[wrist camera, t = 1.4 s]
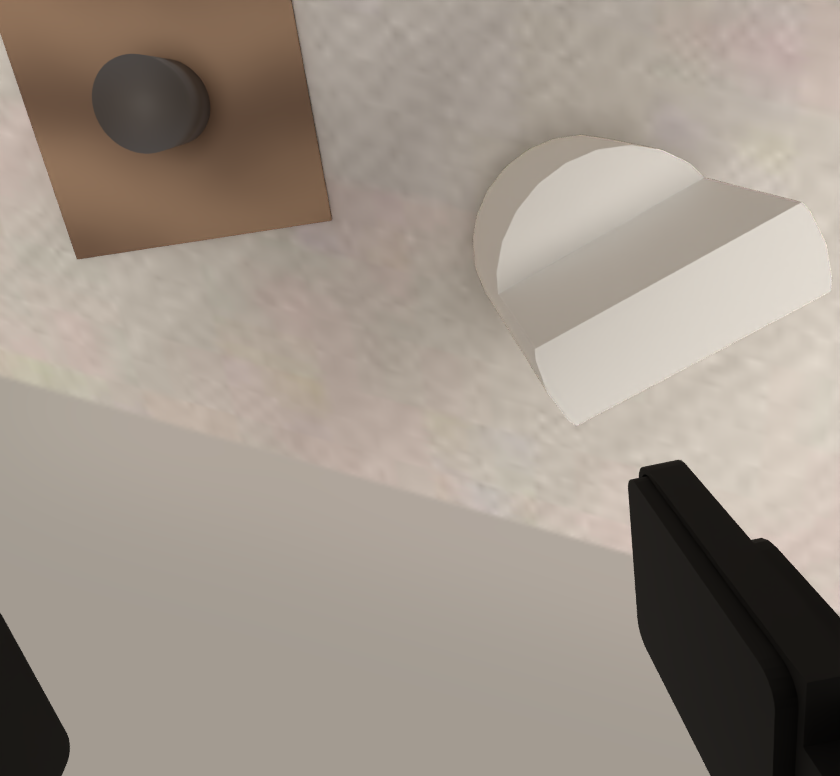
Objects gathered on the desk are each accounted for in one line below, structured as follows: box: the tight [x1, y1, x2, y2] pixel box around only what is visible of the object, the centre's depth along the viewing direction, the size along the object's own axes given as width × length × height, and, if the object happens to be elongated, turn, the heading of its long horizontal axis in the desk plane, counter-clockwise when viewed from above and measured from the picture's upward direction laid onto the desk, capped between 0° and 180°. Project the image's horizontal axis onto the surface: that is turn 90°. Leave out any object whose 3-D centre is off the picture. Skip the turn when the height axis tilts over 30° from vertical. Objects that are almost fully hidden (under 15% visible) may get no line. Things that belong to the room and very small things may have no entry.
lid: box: [0, 0, 332, 259], centre depth 26 cm, size 11×11×5 cm
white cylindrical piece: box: [473, 135, 832, 426], centre depth 26 cm, size 9×9×12 cm
